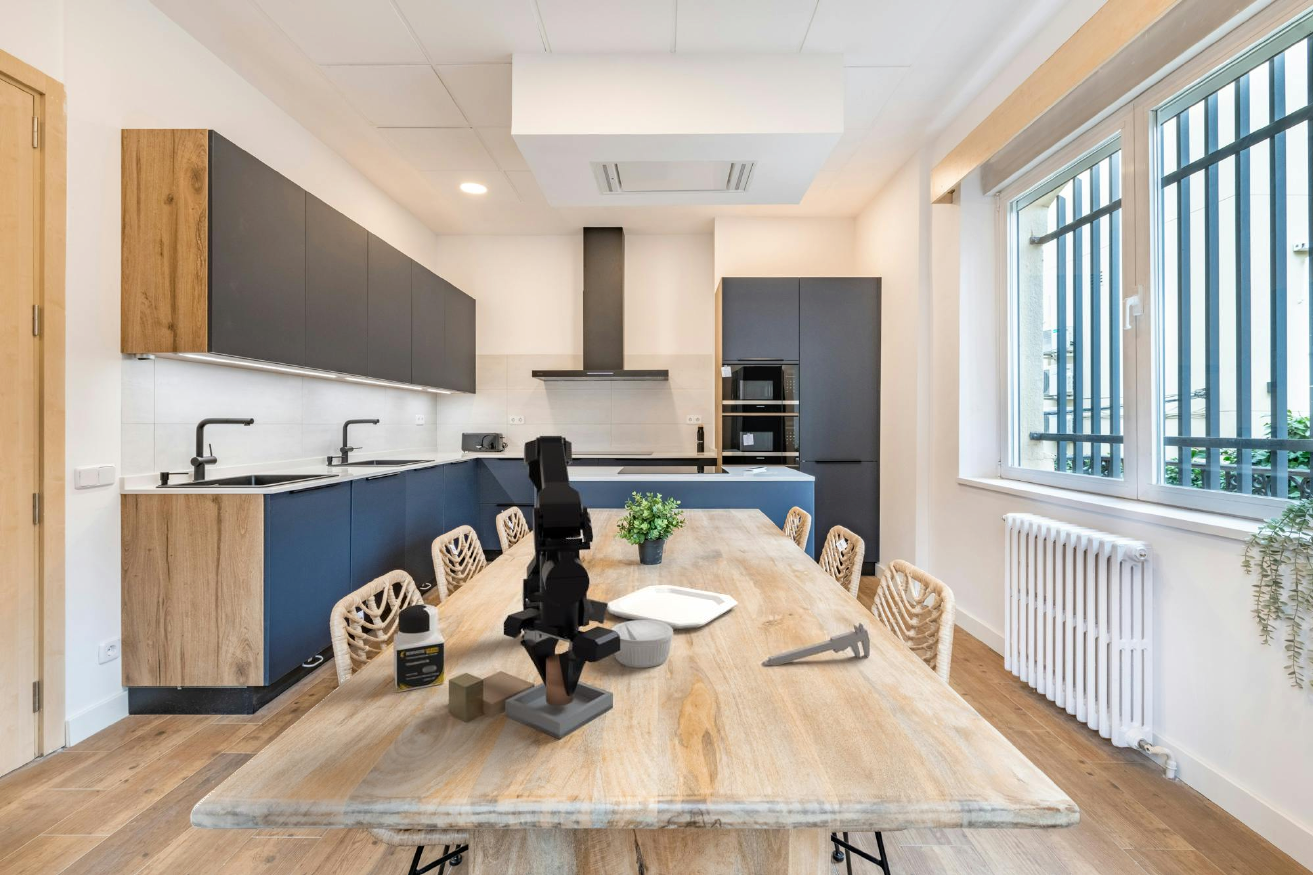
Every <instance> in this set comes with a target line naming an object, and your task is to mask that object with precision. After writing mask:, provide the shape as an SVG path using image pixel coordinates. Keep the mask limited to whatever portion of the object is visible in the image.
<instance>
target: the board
mask: <svg viewBox="0 0 1313 875" xmlns="http://www.w3.org/2000/svg"><path fill="white" fill-rule="evenodd" d="M482 679H483V714H482V715H485V716H487V717H489V718H491V719H494V718H495V717H497V716H499V715H501V714H503V713H505V700H507V699H510V698H512V697H514V696H516V695H518V694H520V693H522V692H524V691H526V690H529V689H531V688H533V687H535V686H536V684H535V683H533V682H531V681H527V680H525V679H522V678H519V677H518V676H515V675H512V674H509V673H507V672H504V671H501V670H500V671H498V672H495V673H493V674H491V675H488V676H486V677H483V678H482Z"/></svg>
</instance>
